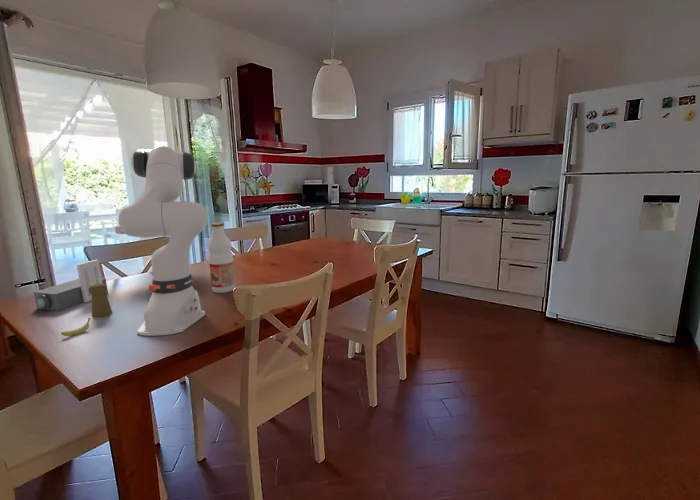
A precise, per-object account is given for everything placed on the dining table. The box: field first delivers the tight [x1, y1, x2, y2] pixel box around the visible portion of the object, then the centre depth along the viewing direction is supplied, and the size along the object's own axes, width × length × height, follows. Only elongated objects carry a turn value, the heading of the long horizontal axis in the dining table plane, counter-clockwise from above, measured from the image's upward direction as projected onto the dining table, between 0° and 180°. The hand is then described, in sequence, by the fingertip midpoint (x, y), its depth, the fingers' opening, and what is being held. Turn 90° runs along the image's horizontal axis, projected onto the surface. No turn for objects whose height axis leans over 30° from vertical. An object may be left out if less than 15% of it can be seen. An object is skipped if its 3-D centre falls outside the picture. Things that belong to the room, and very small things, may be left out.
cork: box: [89, 284, 113, 318], centre depth 129 cm, size 6×6×11 cm
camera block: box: [33, 277, 109, 312], centre depth 143 cm, size 22×11×7 cm, turn 164°
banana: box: [60, 317, 91, 337], centre depth 114 cm, size 8×2×4 cm, turn 150°
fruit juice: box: [207, 222, 236, 294], centre depth 151 cm, size 9×9×28 cm
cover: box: [76, 259, 103, 303], centre depth 144 cm, size 8×2×15 cm, turn 164°
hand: (123, 232), depth 156 cm, fingers closed
